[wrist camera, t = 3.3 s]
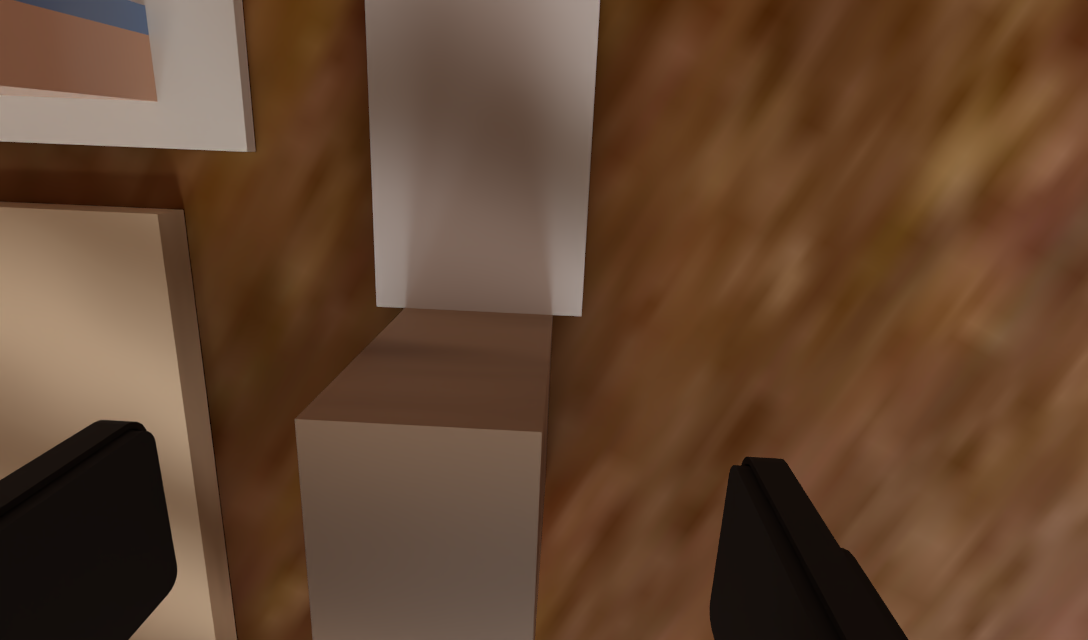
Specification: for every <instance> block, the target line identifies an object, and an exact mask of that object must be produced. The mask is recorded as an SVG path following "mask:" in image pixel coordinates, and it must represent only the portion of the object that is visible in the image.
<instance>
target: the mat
mask: <svg viewBox="0 0 1088 640" xmlns="http://www.w3.org/2000/svg"><path fill="white" fill-rule="evenodd" d="M129 1H132V2H135V3H138V4H141V5H145V9H146V17H147V24H148V32H149V40H150V48H151V55H152V63H153V71H154V78H155V86H156V94H157V101H158V102H153V101H128V100H103V99H78V98H54V97H29V96H4V95H0V141H2V142H26V143H50V144H74V145H98V146H121V147H145V148H169V149H193V150H217V151H241V152H256V149H255V138H254V127H253V116H252V104H251V93H250V82H249V71H248V60H247V49H246V37H245V26H244V15H243V4H242V0H129Z"/></svg>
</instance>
